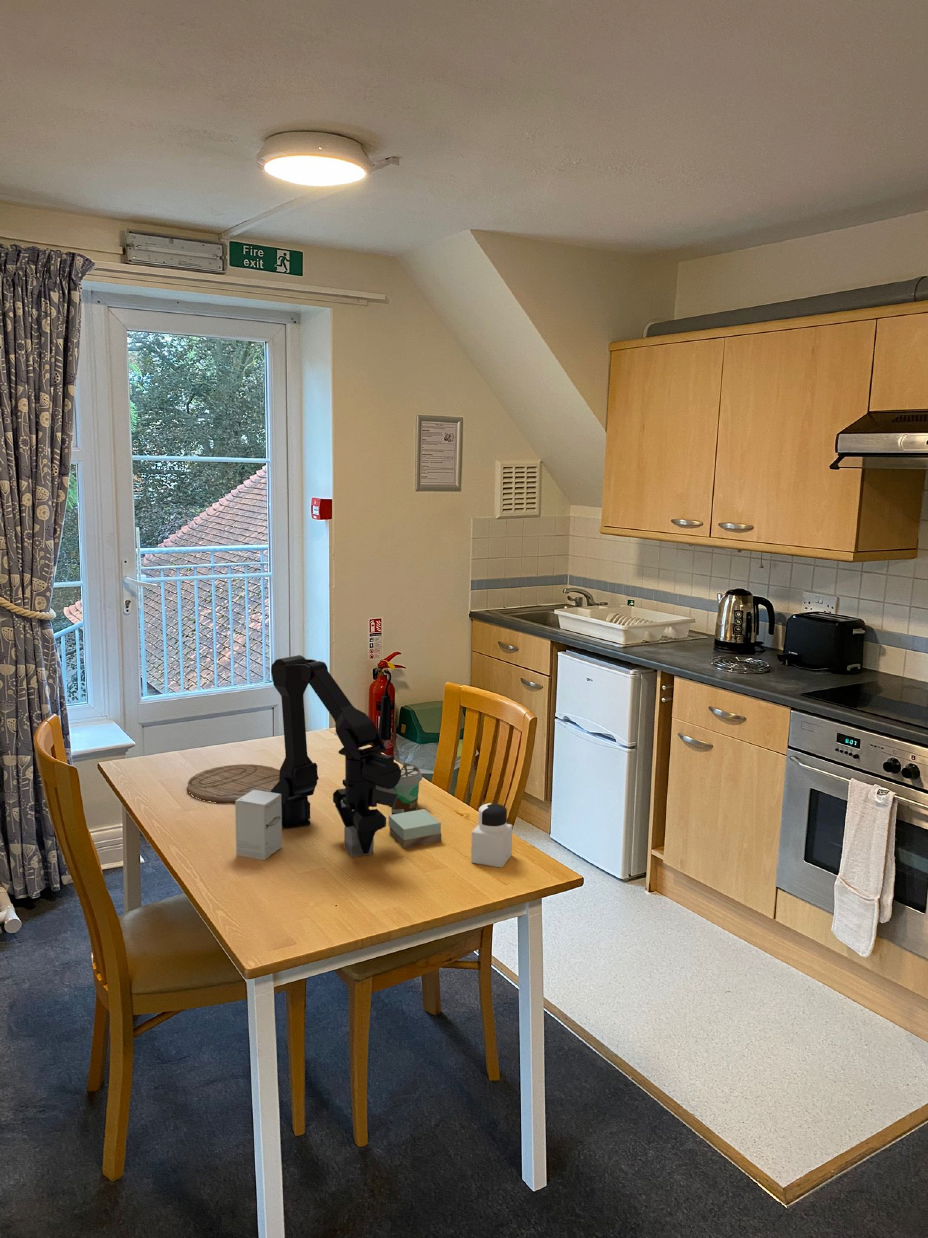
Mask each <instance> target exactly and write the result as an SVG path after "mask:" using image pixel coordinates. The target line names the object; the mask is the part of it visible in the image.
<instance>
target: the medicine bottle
mask: <svg viewBox="0 0 928 1238" xmlns="http://www.w3.org/2000/svg"><path fill="white" fill-rule="evenodd" d="M507 817H508V810H507V808H506V806H504V805H502V804H500V803H496V802H495V803H494V802H493V803H492V802H489V803H485V804H482V805H480V807H478V822H477V825H476V827H475V828H474V829H473V830H472V831H471V848H470V849H471V851H470V853H471V854H470V855H471V856H470V857H471V858H470V859H471V863H473V864H478V865H483V866H489V867H495V868H503V867H504V866H505V865H506V863H507V862H508V861H509V859H510V857H511V856H512V855H513V854H512V853H513V852H512V851H513V824H510V823H508V821H507V820H508V818H507Z"/></svg>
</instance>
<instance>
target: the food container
mask: <svg viewBox="0 0 928 1238" xmlns="http://www.w3.org/2000/svg"><path fill="white" fill-rule="evenodd" d="M400 770H401V777H400V780H399V782H398V784H397V785H396V786H395V787H394V788H392V789H394V790H395V791H396V792H397V793H398V796H397V799H396V802H395V805H394V807H393V808H392V807H390V808H391V815H393V814H399V813H405V812H410V811H416V810H418V804H419V803H418V802H419V789H420V782H421V781H422V779H423V774H422V770H421V768H420V767H419V765H416V764H413V763H410V762H402V767H401V768H400Z"/></svg>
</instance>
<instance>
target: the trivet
mask: <svg viewBox="0 0 928 1238" xmlns="http://www.w3.org/2000/svg"><path fill="white" fill-rule="evenodd" d="M279 775H280V769H278V768H275V767H273V766H266V765H262V764H248V763H247V764H229V765H223V766H217V767H214V768H213V767H212V768H210V769H209V768H208V769H206V770H203V771H201V772H199V773H196V774H195V775H193V776H191V777H190V778H189V780H188V782H187V792H188V791H189V792H190V794H192V795H193V796H194V797H197V798H199V799H201V800H205V801H211V802H216V803H215V804H219V803H235V801H236V800H237V799H239V798H241V797H242V796H244V795H246V794H247V793H249V792H251V791H252V790H258V791H265V792H271V790H272V789H273V788H274V786H275V785H276V784H277V783H278V782H279ZM190 794H189V795H190ZM205 801H204V802H205Z"/></svg>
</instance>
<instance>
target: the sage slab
mask: <svg viewBox="0 0 928 1238" xmlns="http://www.w3.org/2000/svg"><path fill="white" fill-rule="evenodd" d="M390 827H391V828H392V829H393V830H394V831H395V832H396V833H397V834H398V835H399V836H400V837H401V838H402V839H403V840H408V839H413V838H418V837H424V836H429V835H434V834H440V833H441V834H442V823H441V821H439V820H438V819H437V818H436V817H435V816H433V814H431V813H430V812H429V811H428V810H426V809H425V808H424V809H423V808H422V809H417V810H416V811H410V812H405V813H399V814H393V815H392V814H389V815H388V828H390Z"/></svg>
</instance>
